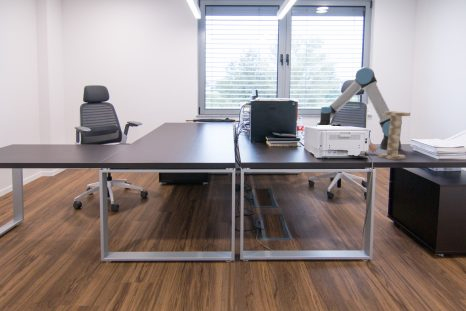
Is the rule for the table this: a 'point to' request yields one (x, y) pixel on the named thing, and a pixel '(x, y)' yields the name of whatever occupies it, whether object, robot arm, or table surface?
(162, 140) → the table surface
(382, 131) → the robot arm
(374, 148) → the bar
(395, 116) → the pedestal stand
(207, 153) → the table surface
